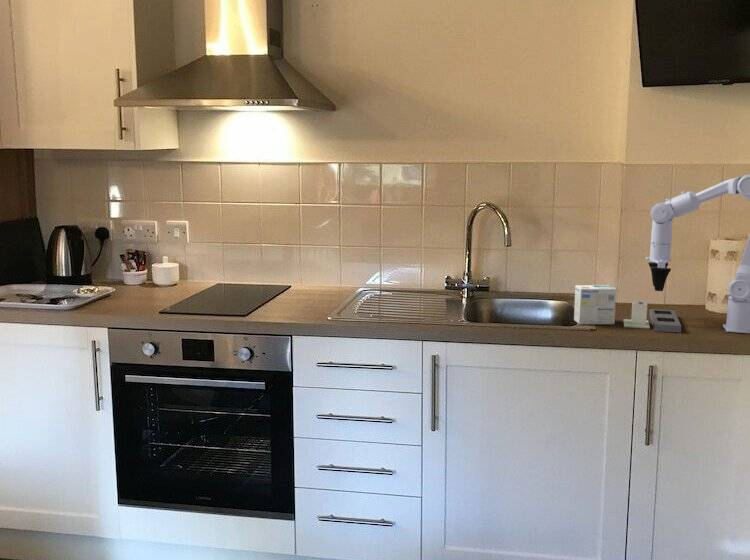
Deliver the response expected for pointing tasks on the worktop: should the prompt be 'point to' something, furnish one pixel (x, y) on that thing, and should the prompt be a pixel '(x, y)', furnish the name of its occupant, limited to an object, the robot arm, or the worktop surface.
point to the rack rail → (665, 321)
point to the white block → (639, 313)
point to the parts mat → (628, 324)
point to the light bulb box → (595, 304)
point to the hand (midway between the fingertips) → (657, 288)
